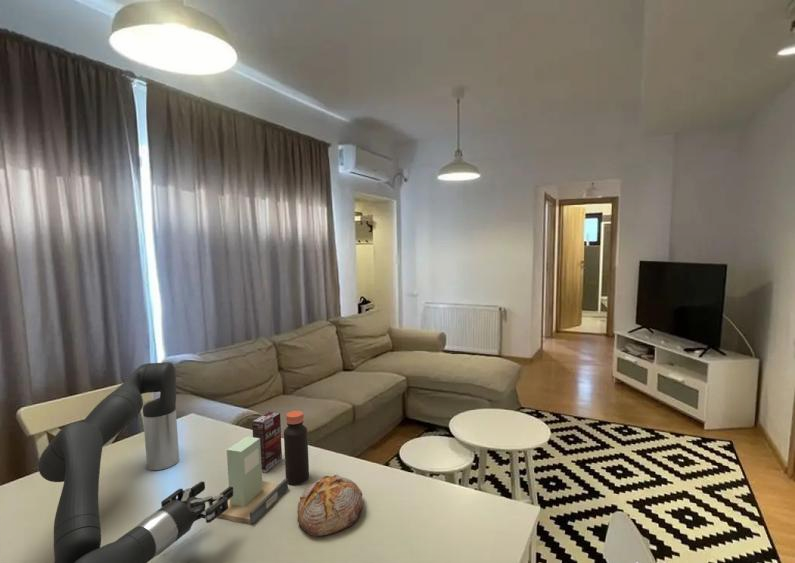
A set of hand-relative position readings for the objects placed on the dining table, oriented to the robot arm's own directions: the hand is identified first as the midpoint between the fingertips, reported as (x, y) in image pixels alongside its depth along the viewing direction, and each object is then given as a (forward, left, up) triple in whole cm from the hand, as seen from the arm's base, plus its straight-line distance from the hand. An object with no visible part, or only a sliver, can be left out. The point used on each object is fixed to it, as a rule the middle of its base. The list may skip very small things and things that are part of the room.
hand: (217, 487), depth 102 cm
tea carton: (-6, +9, -9) cm, 14 cm away
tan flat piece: (-6, +9, -10) cm, 15 cm away
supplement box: (-20, +22, -11) cm, 32 cm away
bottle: (-6, +25, -10) cm, 27 cm away
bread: (+15, +23, -11) cm, 29 cm away
